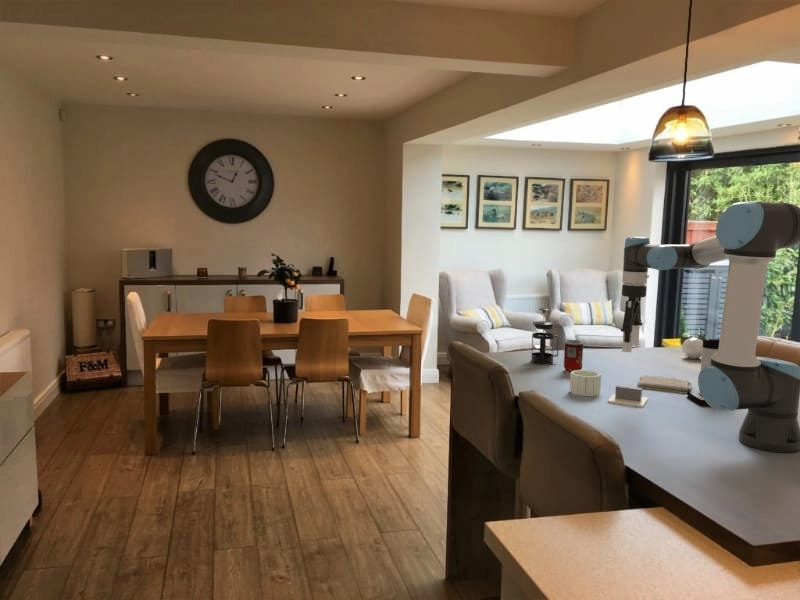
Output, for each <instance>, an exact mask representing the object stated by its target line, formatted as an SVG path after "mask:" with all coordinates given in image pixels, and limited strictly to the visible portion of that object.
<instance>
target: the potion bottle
mask: <svg viewBox="0 0 800 600" xmlns="http://www.w3.org/2000/svg"><path fill="white" fill-rule="evenodd" d="M702 346H703V339H700V338H698V337H689V338H687V339H685V340H684V341H683V343H682V345H681V351H682V353H683V355H684V357H686V358H688V359H691V360H698V359H699V358H702V349H703V348H702Z"/></svg>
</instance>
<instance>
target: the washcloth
mask: <svg viewBox="0 0 800 600" xmlns="http://www.w3.org/2000/svg"><path fill="white" fill-rule="evenodd" d="M637 388H642V389H644V388H645V389H646V390H653V389H656V390H655V391H661V390H665V391H664V392H670V391H673V393H678V392H682V393H681V394H686V393H687V392H689V391H690V392H691V390H692V382H690V381H689V380H682V379H678V378H676V377H664V376H654V375H642V376H640V377H639V381H638V382H637ZM690 392H689V393H690Z"/></svg>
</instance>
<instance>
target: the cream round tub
mask: <svg viewBox="0 0 800 600" xmlns="http://www.w3.org/2000/svg"><path fill="white" fill-rule="evenodd" d="M569 381H570V382H569V391H570V392H571V393H570V394H572V393H573V394H572V395H574V394H576V395H575V396H578V395H580V396H579V397H584V396H594V397H597V395H598V396H600V395H601V386H602V385H601V384H602V374H601V372H597V371H595V370H587V369H581V370H575V371H572V372H571V373H570V377H569ZM599 394H600V395H599Z"/></svg>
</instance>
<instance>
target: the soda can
mask: <svg viewBox="0 0 800 600" xmlns="http://www.w3.org/2000/svg"><path fill="white" fill-rule="evenodd" d="M563 351H564V353H563V355H564V356H563V357H564V358H563V368H564V369H565V370H564V371H565V372H566V371H567V372H566V373H569V372H572V371H575V370H583V358H584V357H583V356H584V353H583V352H584V342H582V341H580V340H577V339H576V340H574V339H569V340H568V339H567V340H566V341H565V342H564V350H563Z"/></svg>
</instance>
